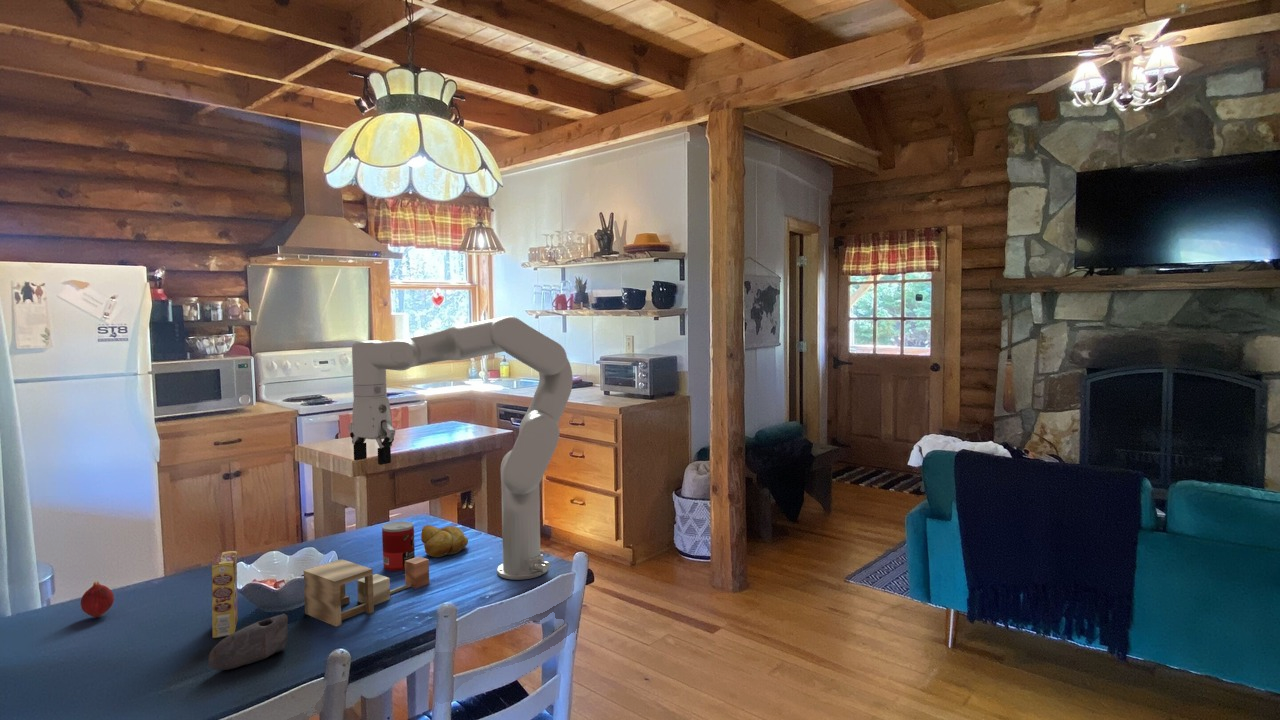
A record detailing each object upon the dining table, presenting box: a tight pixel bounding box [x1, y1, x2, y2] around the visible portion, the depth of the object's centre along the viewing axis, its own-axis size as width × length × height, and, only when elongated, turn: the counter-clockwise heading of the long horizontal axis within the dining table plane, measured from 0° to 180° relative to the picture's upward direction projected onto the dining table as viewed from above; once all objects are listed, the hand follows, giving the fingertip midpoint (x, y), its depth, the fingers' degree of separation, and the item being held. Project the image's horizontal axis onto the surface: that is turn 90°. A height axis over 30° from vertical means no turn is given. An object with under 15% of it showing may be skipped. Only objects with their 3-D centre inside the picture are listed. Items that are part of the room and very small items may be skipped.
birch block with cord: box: [356, 555, 430, 606], centre depth 167 cm, size 5×16×6 cm, turn 145°
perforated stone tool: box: [207, 613, 289, 671], centre depth 134 cm, size 15×5×7 cm, turn 140°
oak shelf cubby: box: [303, 558, 375, 627], centre depth 155 cm, size 12×9×10 cm
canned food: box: [381, 520, 416, 572], centre depth 185 cm, size 8×8×11 cm
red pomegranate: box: [80, 580, 115, 618], centre depth 154 cm, size 6×6×8 cm
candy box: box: [211, 550, 239, 639], centre depth 148 cm, size 9×4×15 cm, turn 26°
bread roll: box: [420, 524, 469, 558], centre depth 196 cm, size 13×10×8 cm
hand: (372, 461), depth 171 cm, fingers open, 9 cm apart
